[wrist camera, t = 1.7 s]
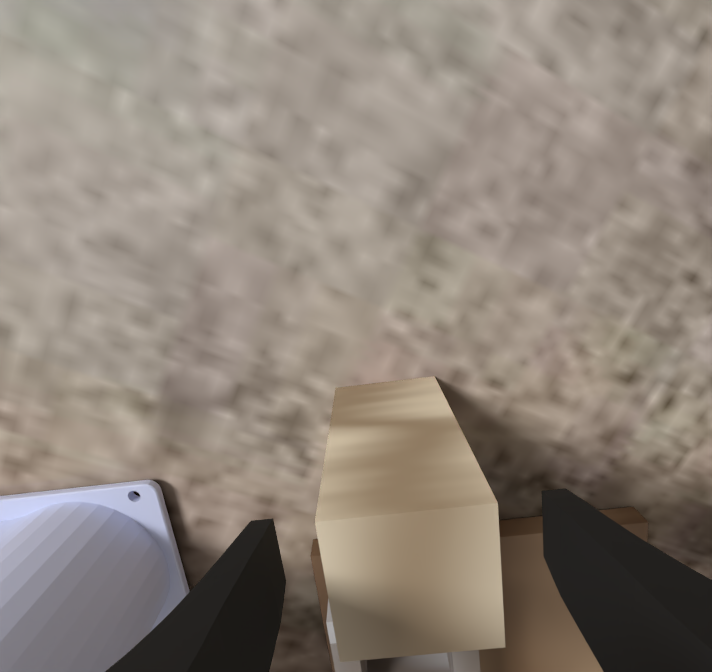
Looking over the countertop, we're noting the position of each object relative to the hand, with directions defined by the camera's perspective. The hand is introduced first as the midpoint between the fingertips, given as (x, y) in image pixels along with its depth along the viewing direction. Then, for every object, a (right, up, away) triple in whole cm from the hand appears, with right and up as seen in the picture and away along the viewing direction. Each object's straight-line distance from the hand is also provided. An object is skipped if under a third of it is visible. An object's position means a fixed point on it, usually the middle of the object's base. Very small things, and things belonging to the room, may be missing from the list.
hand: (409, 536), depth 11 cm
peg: (0, +2, +6) cm, 6 cm away
